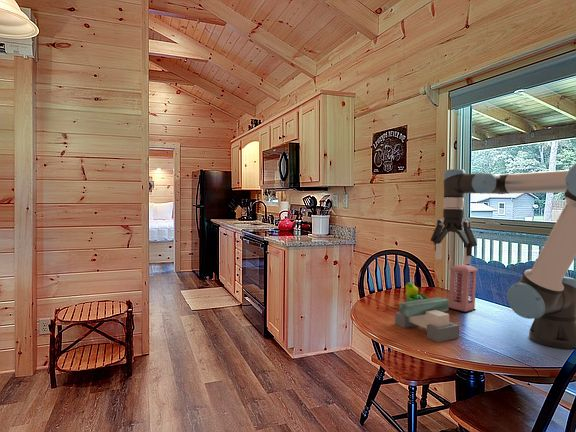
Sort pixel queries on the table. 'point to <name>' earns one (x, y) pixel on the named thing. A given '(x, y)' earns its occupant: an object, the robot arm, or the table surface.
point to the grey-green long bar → (423, 306)
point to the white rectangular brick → (431, 319)
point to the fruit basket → (413, 293)
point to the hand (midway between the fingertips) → (452, 261)
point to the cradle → (431, 329)
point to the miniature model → (462, 288)
